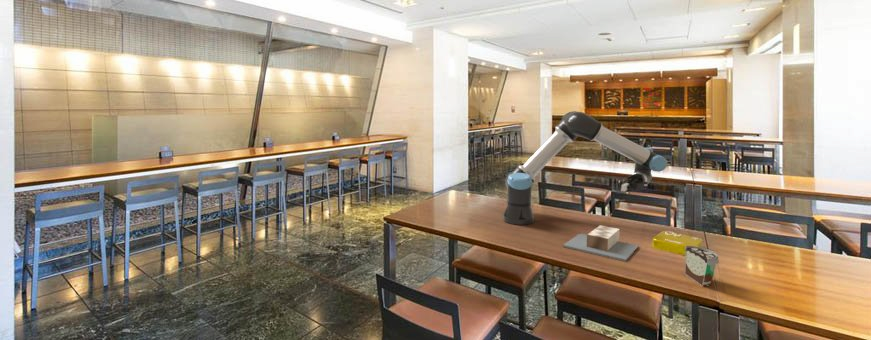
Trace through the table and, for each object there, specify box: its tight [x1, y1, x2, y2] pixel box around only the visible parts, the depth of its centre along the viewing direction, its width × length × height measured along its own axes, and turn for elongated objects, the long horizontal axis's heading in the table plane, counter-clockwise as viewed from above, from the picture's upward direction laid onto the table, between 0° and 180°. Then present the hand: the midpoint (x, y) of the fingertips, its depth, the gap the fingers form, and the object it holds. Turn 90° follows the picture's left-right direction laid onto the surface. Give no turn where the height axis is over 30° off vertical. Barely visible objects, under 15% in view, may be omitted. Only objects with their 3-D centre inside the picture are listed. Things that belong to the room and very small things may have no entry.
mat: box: [562, 232, 639, 263], centre depth 160 cm, size 24×19×1 cm
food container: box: [684, 246, 720, 287], centre depth 129 cm, size 12×6×10 cm, turn 179°
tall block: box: [586, 224, 621, 251], centre depth 162 cm, size 8×5×16 cm
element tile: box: [651, 230, 704, 257], centre depth 159 cm, size 15×15×5 cm
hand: (623, 188), depth 175 cm, fingers closed
